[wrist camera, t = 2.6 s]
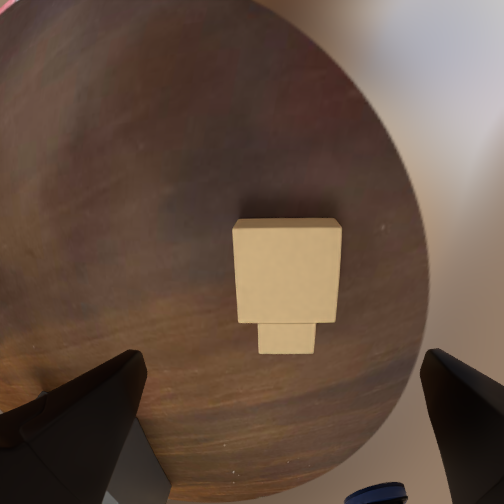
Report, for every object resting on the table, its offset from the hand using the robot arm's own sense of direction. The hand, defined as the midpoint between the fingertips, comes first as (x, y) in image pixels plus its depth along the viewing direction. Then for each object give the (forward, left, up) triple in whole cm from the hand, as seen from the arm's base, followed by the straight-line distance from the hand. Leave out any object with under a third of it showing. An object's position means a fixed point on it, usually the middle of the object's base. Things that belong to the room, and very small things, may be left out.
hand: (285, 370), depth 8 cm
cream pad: (0, +1, -8) cm, 8 cm away
